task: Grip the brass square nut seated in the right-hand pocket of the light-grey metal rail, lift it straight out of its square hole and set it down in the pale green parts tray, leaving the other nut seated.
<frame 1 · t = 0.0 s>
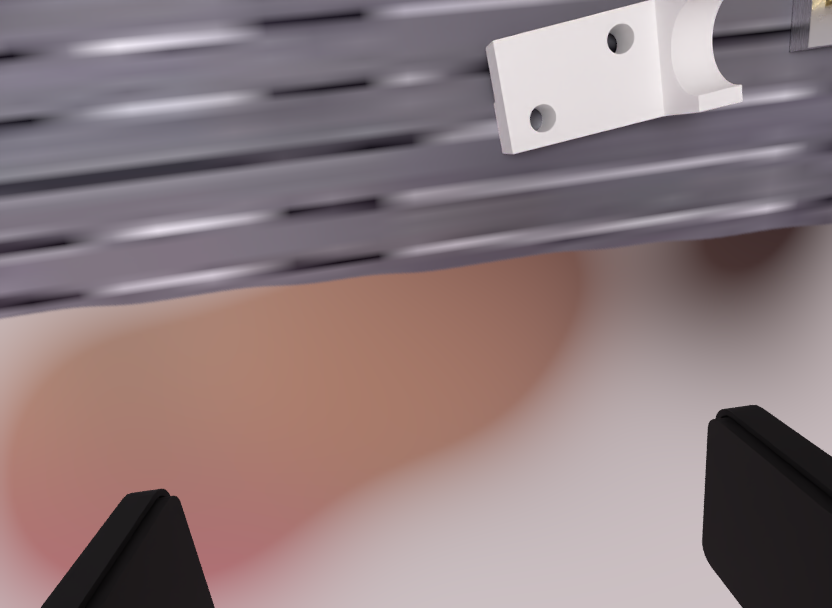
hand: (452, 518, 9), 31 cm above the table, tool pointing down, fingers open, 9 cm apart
bracket: (580, 81, 37), on the table
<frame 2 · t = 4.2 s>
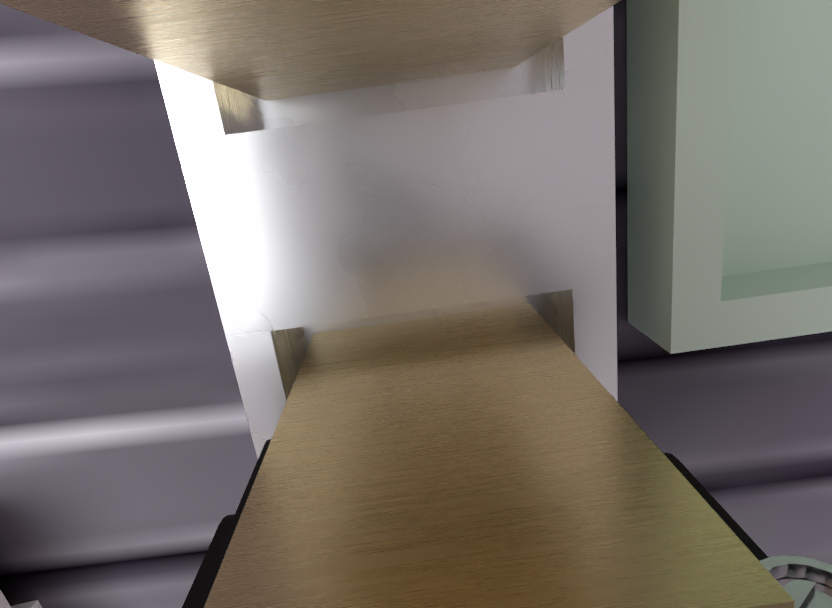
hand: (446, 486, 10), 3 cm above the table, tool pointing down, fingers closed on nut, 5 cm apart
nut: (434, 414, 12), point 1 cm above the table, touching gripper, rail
rail: (406, 206, 11), on the table
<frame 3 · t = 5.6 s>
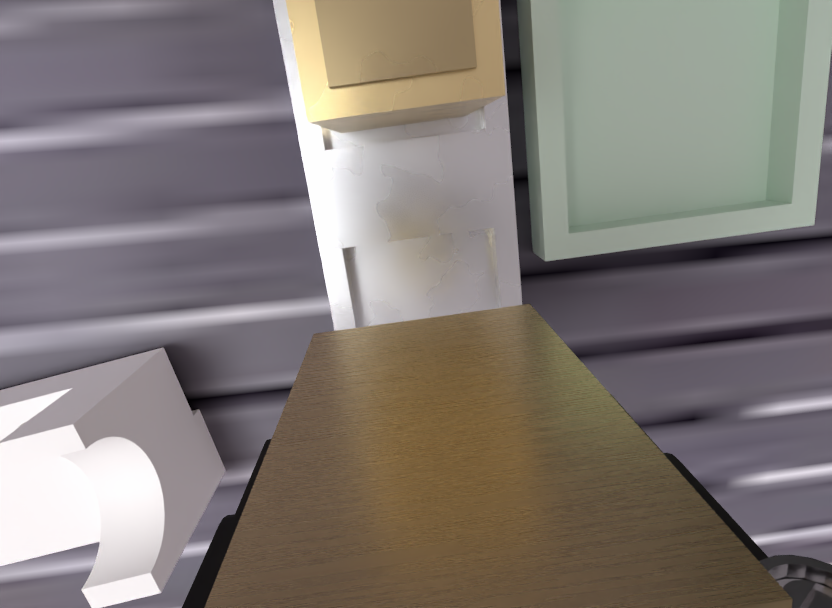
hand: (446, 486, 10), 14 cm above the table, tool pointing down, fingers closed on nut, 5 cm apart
bracket: (76, 436, 25), on the table
tray: (656, 103, 21), on the table
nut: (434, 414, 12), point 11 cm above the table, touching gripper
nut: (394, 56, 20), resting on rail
rail: (410, 187, 22), on the table
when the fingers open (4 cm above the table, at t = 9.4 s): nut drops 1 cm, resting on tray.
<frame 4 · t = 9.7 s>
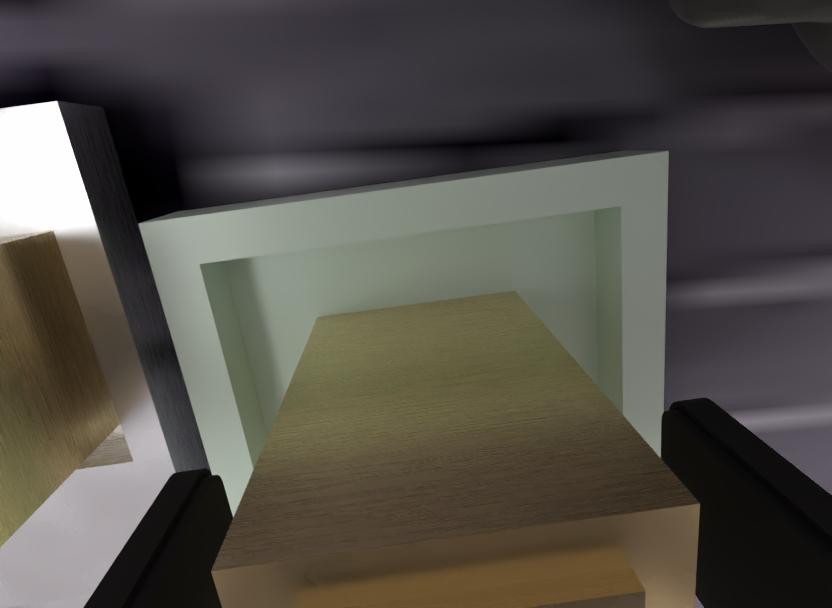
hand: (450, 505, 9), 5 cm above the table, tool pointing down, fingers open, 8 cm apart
tray: (429, 384, 14), on the table
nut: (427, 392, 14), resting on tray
rail: (73, 498, 15), on the table
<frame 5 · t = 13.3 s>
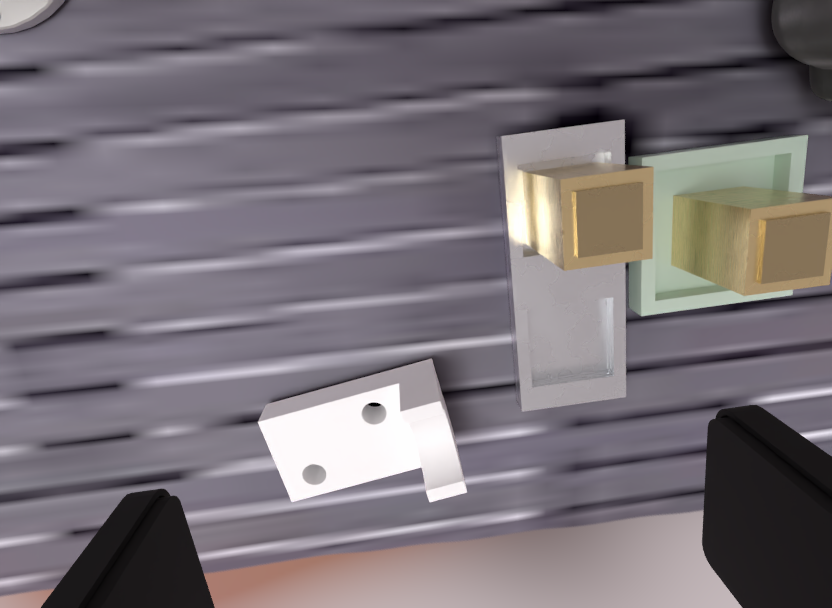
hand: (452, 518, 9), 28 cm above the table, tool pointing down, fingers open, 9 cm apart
bracket: (363, 413, 40), on the table
tray: (703, 225, 37), on the table
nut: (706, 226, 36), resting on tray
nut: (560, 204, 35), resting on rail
rail: (561, 271, 37), on the table
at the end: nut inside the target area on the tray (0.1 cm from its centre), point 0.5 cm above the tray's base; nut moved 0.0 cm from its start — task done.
